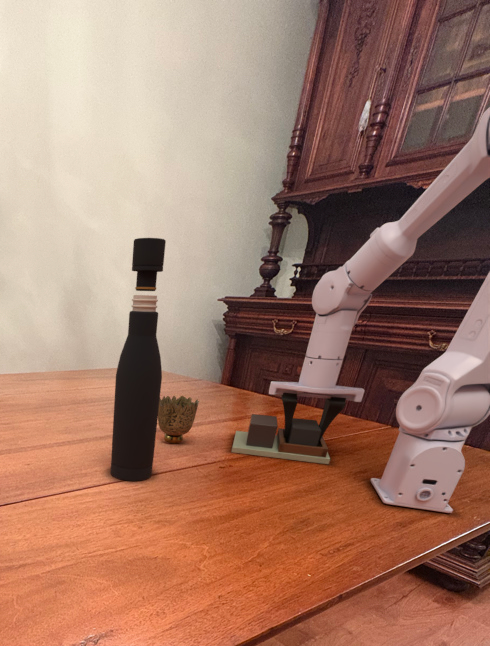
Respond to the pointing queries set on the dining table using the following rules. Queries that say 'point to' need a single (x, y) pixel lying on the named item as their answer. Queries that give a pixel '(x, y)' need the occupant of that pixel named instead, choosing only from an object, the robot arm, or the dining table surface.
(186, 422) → the cup
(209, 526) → the dining table surface
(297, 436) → the loose block
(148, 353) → the black bottle
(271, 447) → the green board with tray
